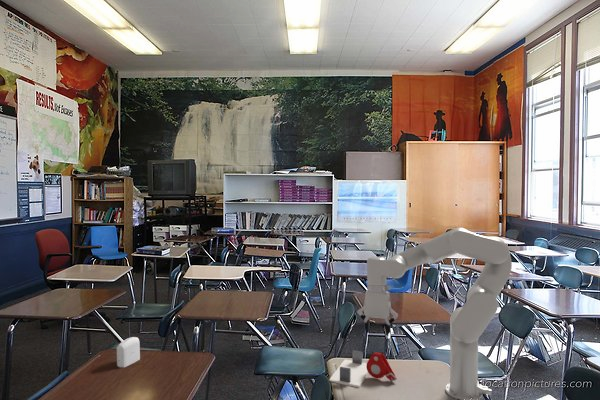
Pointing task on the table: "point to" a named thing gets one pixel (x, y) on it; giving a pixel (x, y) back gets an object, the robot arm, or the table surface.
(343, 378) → the board
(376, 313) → the robot arm
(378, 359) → the red curved piece
